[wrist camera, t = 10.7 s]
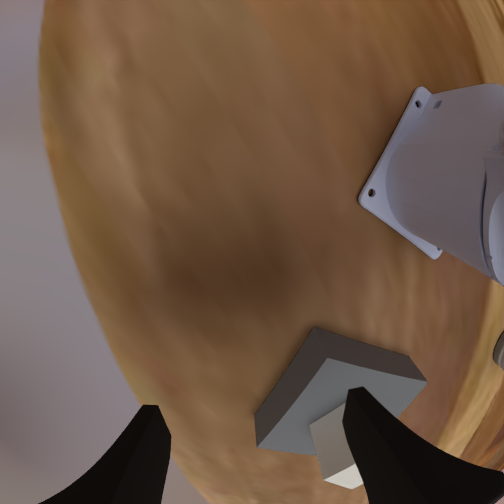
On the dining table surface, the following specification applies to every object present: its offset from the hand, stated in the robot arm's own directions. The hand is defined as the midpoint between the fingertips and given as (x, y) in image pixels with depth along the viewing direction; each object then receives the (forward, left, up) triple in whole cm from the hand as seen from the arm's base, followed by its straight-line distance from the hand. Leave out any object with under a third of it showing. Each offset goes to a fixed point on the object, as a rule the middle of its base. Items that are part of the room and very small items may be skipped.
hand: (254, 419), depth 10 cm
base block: (+4, +11, -10) cm, 15 cm away
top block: (+4, +10, -6) cm, 13 cm away
